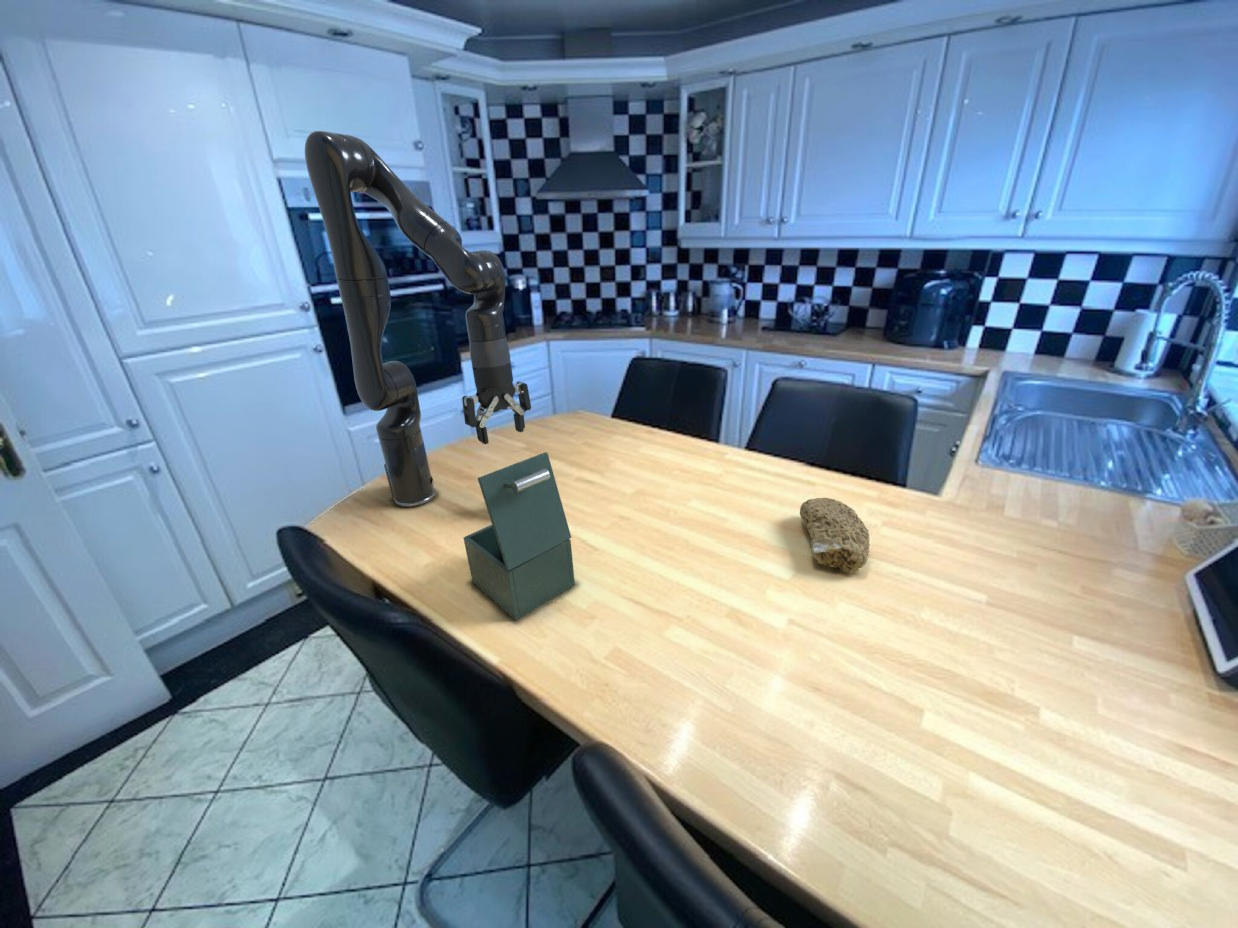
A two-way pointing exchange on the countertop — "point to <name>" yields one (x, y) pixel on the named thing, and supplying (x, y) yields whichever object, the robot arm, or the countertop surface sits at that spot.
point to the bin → (518, 573)
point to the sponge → (835, 534)
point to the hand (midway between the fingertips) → (502, 437)
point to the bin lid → (525, 509)
